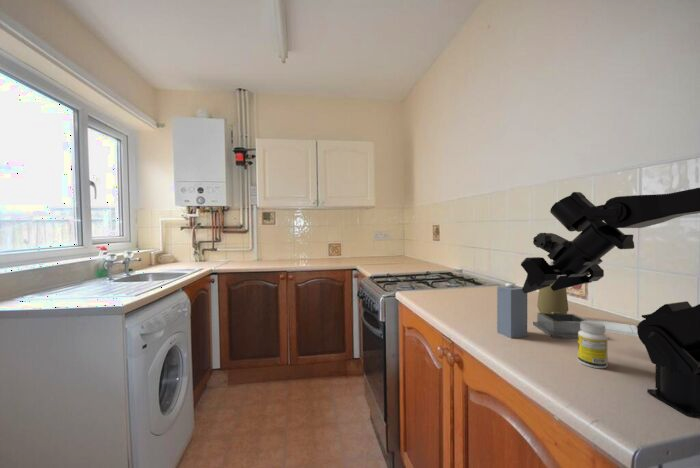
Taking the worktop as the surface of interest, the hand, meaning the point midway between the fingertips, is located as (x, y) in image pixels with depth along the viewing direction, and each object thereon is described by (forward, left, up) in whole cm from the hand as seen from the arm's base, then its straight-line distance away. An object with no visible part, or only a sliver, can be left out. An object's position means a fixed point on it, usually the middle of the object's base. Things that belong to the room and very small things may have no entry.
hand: (538, 290), depth 71 cm
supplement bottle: (-10, -5, -13) cm, 18 cm away
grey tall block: (+7, +3, -13) cm, 15 cm away
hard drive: (+13, -26, -14) cm, 32 cm away
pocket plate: (+9, -12, -13) cm, 20 cm away
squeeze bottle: (+21, -16, -13) cm, 30 cm away
